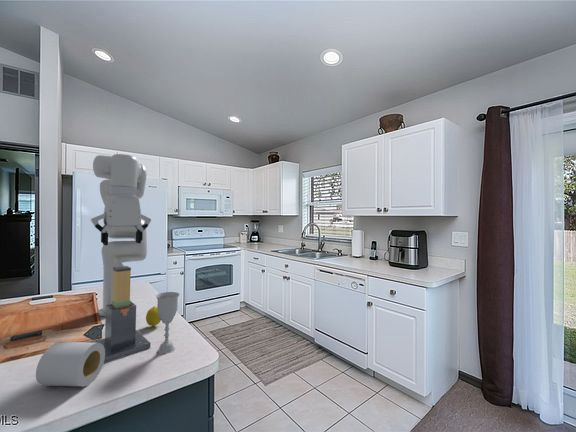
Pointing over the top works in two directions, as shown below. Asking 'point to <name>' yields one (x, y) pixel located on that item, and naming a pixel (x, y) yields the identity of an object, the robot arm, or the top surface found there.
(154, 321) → the lemon
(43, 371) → the toilet paper
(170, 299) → the chalice
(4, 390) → the top surface
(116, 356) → the stand
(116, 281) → the column
